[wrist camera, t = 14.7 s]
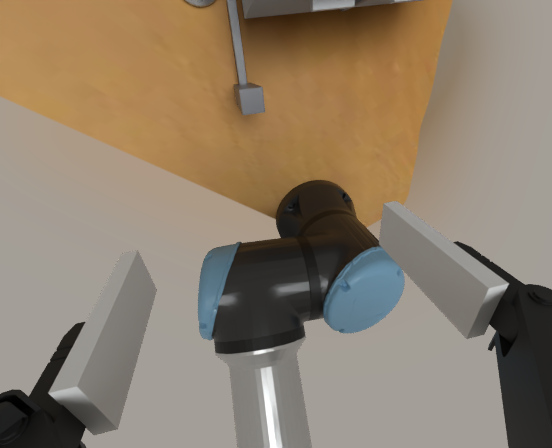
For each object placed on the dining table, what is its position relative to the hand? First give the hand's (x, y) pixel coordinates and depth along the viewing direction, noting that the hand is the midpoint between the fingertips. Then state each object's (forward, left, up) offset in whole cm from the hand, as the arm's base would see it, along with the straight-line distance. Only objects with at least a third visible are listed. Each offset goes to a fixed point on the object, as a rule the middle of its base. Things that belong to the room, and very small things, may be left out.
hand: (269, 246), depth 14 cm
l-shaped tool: (+13, -2, -32) cm, 34 cm away
